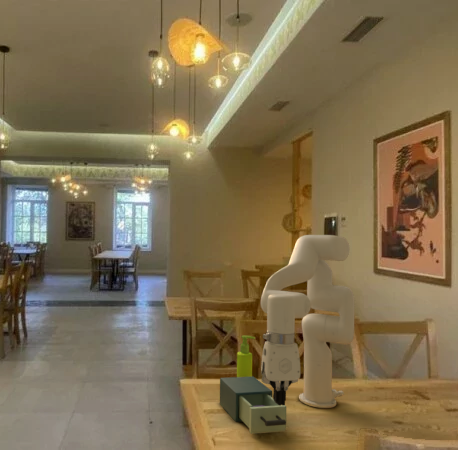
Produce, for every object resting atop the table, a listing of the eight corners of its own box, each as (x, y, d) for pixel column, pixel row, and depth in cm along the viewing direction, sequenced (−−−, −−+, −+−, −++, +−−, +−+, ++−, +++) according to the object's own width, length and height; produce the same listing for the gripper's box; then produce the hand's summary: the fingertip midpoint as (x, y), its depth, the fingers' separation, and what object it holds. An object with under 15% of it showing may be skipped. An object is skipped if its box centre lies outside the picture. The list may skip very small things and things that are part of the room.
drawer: (294, 438, 120) (294, 412, 120) (257, 441, 117) (258, 415, 118) (265, 412, 137) (266, 390, 138) (233, 414, 135) (233, 392, 135)
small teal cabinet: (272, 419, 134) (272, 391, 135) (235, 421, 132) (236, 393, 132) (252, 401, 149) (253, 376, 149) (219, 403, 146) (220, 377, 146)
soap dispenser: (254, 390, 160) (255, 338, 161) (236, 388, 162) (237, 337, 162) (254, 385, 166) (254, 334, 167) (236, 383, 167) (237, 333, 168)
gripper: (262, 341, 113) (260, 410, 112) (311, 340, 116) (310, 407, 115) (250, 335, 120) (249, 399, 119) (297, 334, 123) (296, 397, 122)
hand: (279, 403), depth 117 cm, fingers closed
